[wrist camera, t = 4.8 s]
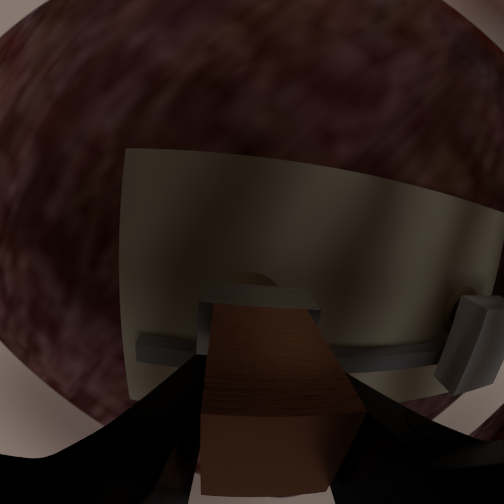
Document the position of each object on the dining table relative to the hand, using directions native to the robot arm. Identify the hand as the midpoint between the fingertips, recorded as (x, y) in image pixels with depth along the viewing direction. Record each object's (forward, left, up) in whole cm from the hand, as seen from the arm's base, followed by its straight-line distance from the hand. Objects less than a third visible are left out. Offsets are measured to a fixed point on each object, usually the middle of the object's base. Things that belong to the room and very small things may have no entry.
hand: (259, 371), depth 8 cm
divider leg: (0, +1, -5) cm, 5 cm away
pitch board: (-5, 0, -6) cm, 8 cm away
